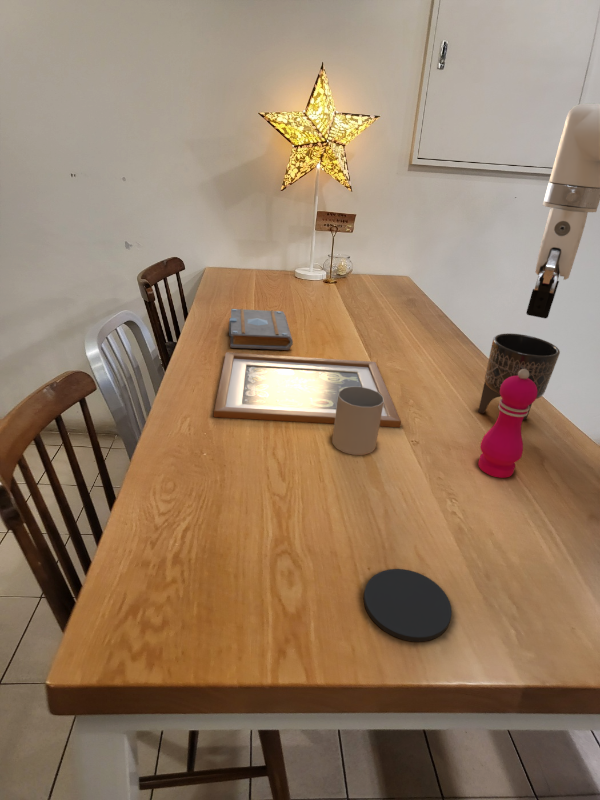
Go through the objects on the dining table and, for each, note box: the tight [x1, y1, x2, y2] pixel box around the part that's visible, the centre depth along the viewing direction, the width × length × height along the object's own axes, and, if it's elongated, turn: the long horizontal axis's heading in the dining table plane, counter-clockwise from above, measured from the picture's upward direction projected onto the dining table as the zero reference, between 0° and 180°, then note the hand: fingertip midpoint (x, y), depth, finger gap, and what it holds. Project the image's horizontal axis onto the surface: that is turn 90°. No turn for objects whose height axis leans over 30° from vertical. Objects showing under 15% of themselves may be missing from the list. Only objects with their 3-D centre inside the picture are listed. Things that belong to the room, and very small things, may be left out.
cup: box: [331, 387, 384, 456], centre depth 101 cm, size 8×8×10 cm
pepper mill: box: [477, 369, 537, 479], centre depth 95 cm, size 7×7×20 cm
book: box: [228, 308, 294, 351], centre depth 149 cm, size 21×16×5 cm
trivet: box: [363, 568, 453, 643], centre depth 68 cm, size 11×11×1 cm
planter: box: [477, 333, 561, 421], centre depth 113 cm, size 13×13×18 cm
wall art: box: [213, 351, 402, 428], centre depth 122 cm, size 31×2×38 cm
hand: (539, 309), depth 88 cm, fingers open, 9 cm apart
